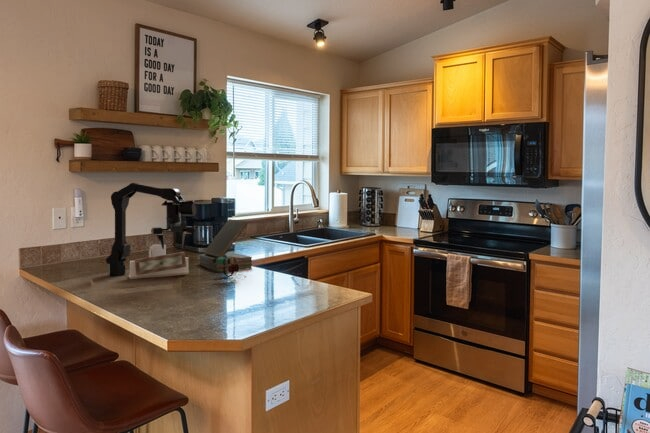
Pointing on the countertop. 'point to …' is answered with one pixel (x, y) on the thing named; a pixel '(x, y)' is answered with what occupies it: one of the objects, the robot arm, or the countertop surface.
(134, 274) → the long wooden tray
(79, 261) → the countertop surface
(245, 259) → the open lidded box
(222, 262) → the binoculars
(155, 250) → the mug
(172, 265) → the picture frame
